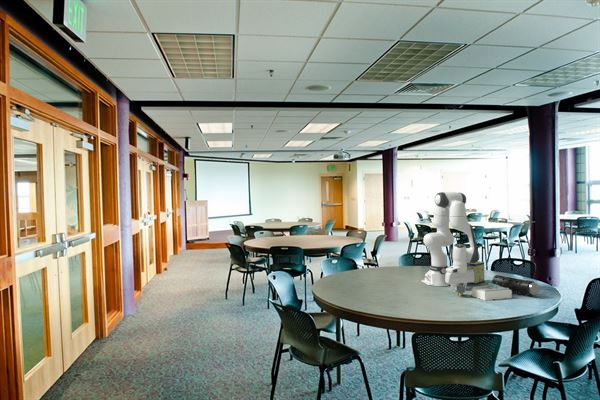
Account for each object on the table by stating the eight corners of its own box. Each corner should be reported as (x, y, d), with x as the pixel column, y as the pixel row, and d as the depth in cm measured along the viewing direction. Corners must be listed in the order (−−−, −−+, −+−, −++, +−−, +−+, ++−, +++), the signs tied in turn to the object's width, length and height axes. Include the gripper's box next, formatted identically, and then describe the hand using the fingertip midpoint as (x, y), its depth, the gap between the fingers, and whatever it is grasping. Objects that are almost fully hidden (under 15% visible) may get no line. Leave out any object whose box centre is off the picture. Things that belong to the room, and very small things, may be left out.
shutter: (488, 287, 253) (488, 282, 253) (497, 286, 255) (497, 282, 255) (496, 290, 247) (495, 285, 247) (505, 289, 248) (505, 284, 248)
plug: (455, 294, 257) (455, 285, 257) (460, 294, 258) (460, 285, 258) (459, 296, 253) (459, 286, 253) (464, 295, 254) (464, 286, 254)
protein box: (461, 283, 292) (461, 262, 292) (471, 280, 302) (470, 260, 302) (475, 285, 284) (475, 264, 284) (484, 282, 294) (484, 261, 294)
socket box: (472, 295, 253) (471, 286, 253) (497, 293, 258) (497, 284, 258) (485, 300, 242) (484, 290, 242) (511, 298, 247) (511, 288, 247)
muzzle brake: (501, 288, 274) (500, 273, 274) (540, 297, 249) (539, 281, 249) (491, 289, 270) (491, 275, 270) (530, 298, 244) (530, 282, 244)
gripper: (470, 267, 261) (470, 287, 261) (443, 268, 256) (444, 289, 256) (476, 268, 255) (476, 289, 255) (449, 270, 250) (449, 291, 250)
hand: (460, 289), depth 256 cm, fingers closed on plug, 4 cm apart
